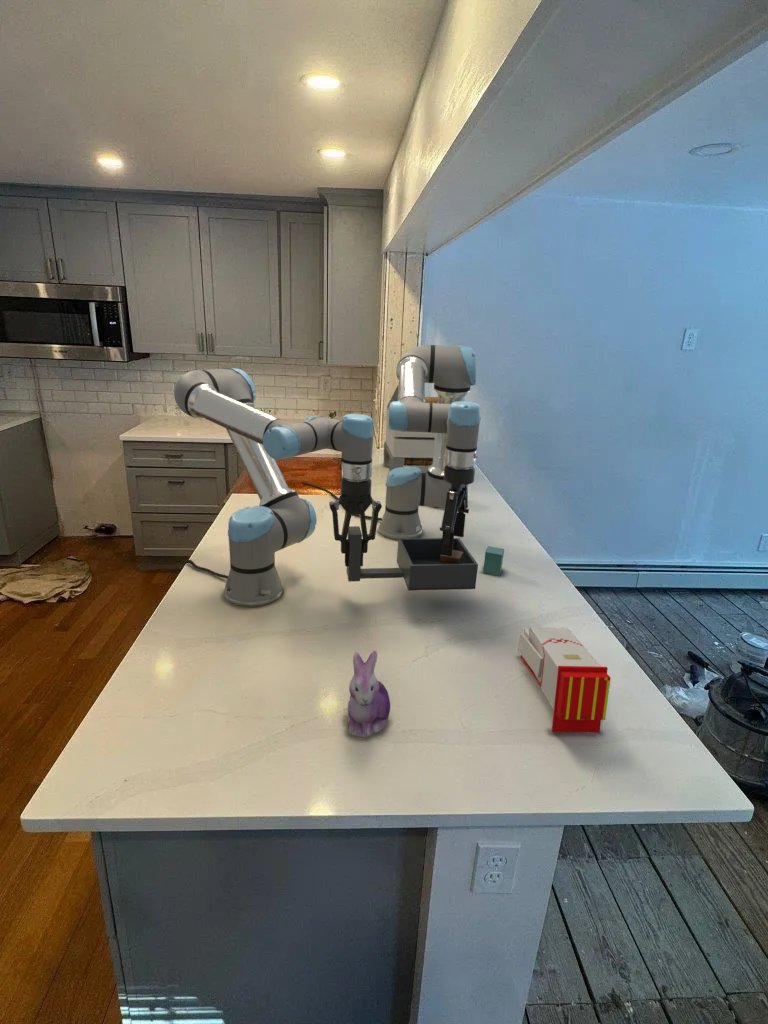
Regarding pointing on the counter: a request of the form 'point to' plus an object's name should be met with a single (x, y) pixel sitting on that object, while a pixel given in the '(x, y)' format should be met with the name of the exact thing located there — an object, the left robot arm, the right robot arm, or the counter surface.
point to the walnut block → (452, 558)
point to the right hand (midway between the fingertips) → (452, 545)
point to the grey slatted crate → (408, 444)
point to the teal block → (493, 560)
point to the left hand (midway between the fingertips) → (353, 563)
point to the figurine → (367, 699)
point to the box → (416, 564)
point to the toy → (566, 678)
